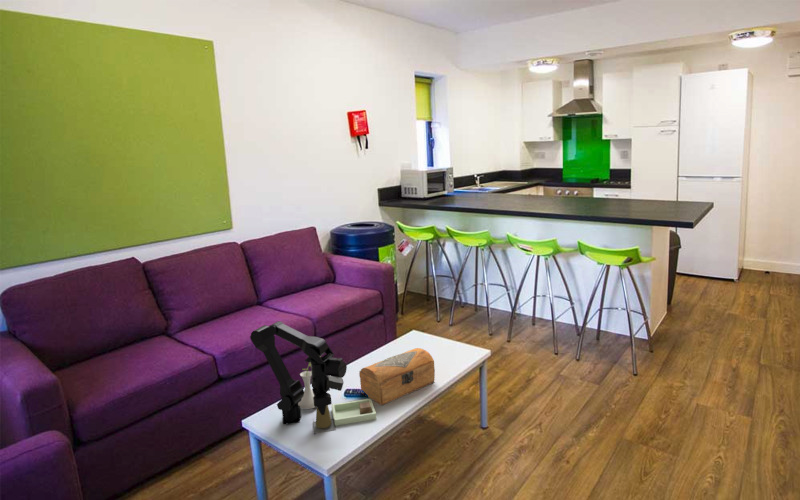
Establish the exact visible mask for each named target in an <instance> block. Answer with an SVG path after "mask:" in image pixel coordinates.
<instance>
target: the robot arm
mask: <svg viewBox="0 0 800 500" xmlns="http://www.w3.org/2000/svg"><path fill="white" fill-rule="evenodd" d="M276 336H277V337H279V338H281V339H283V340H284V341H287V342H288V343H290V344H293V345H295V346H296V347H299V348H300V349H301V350H302V351H303V353H304V354H305V355H306V356H307V358H305V360H304V361H305V362H307V363H309V362H311V367H310V369H311V370H310V371H311V372H312V375H311V378H310V385H311V387H312V388H311V390H312V391H313V394H314V397H313V400H314V406H315V408H316V409H317V408H318V410H319V411H320V413H321V415H324V414H325V409H326V405H328V406H330V405H332V402H333V401H332V397H331V394H330V393H329V392H328V391H331V390H336V391H339V392H340V391H342V389H343V386H344V379H343V378H344V377H345V376H346V373H347V369H348V368H347V366H348V365H347V364H346V362H345V361H344V359H343V358H342V357H335V354H334V352H333V351H332V349H331V348H330V346H329V345H328V343H327V340H325V339H324V338H321V337H318V336H312V335H310V336H309V335H307V334H304V333H302V332H300V331H299V330H297V329H295V328H292V327H290V326H289V325H286V324H285V323H284V322H283V321H276V322H274V323H271V325H266V324H264V325H262V326H260V327H258V328H256V329H254V330H252V332H251V333H250V336H249V338H250V340H251V343H252V344H253V345H254V347H255V348H256V349H257V350H259V351H260V352H262V354H263V355H264V356H265V359H266V361H267V362H268V364H269V367H270V369H271V370H272V373H273V374H274V375H275V378H276V380H277V383H278V384H279V394H280V398H281V399H280V400H279V402H278V403H277V404H276V405H277V408H278V410H279V411H281V414H282V424H283V425H284V426H285V425H290V424H296V423H300V422H301V418H302V414H301V413H302V412H301V408H300V405H299V406H298V403H299V402H300V401H301V399H302V398H303V396H304V390H305V387H304V386H303V385H302V383H301V381H300V380H299V379H298V380H295V379H293V378H292V376H291V374H290V372H289V370H288V368H287V367H286V363H284V360H283V359H282V356H281V355H280V352H279V351H278V349H277V348H276ZM322 355H323V356H322ZM308 356H309V357H308ZM320 356H321V357H320Z"/></svg>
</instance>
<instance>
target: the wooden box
mask: <svg viewBox="0 0 800 500" xmlns="http://www.w3.org/2000/svg"><path fill="white" fill-rule="evenodd" d="M434 360H435V359H434V358H433V356H432V355H431V354H430V353H429V351H427V350H425V349H424V348H421V347H417V348H413V349H410V350H407V351H405V352H402V353H399V354H395V355H393V356H390V357H387V358H386V359H383V360H380V361H377V362H375V363H372V364H371V365H368V366H366V367H362V368H360V370H359V374H358V375H359V379H360V380H359V383H360V391H361V390H363V391H364V392H365V393H366V394H367V395H368V399H371V400H372V401H374V402H376V403H377V404H379V405H381V406H384V405H387V404H388V403H391V402H393V401H395V400H398V399H399V398H401V397H403V396H406V395H409V394H411V393H413V392H416V391H418V390H420V389H423V388H425V387H427V386H429V385H432V384H433V383H435V378H436V377H435V375H436V374H435V370H436V368H435V361H434Z"/></svg>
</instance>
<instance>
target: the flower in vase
mask: <svg viewBox="0 0 800 500" xmlns="http://www.w3.org/2000/svg"><path fill="white" fill-rule="evenodd" d="M308 357H309V356H307V358H308ZM320 357H322V355H321V356H320ZM309 367H310V368H311V362H308V366H307V368H303V367H302V369H301V370H302V372H300V373H299V375H300V377H301V378H302V381H303V383H304V389H303V390H304V396H303V398H302V399H301V401H300V402H299V403H298V406H299V405H300V410H310V409H314V408H316V407H315V406H314V400H313V397H314V394H313V391H312V388H311V379H312V372H311V370H309Z"/></svg>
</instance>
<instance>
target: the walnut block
mask: <svg viewBox="0 0 800 500" xmlns="http://www.w3.org/2000/svg"><path fill="white" fill-rule="evenodd" d="M359 408H360V415H361V414H367V413H371V406H370V403H369V402H365V403H359Z"/></svg>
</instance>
